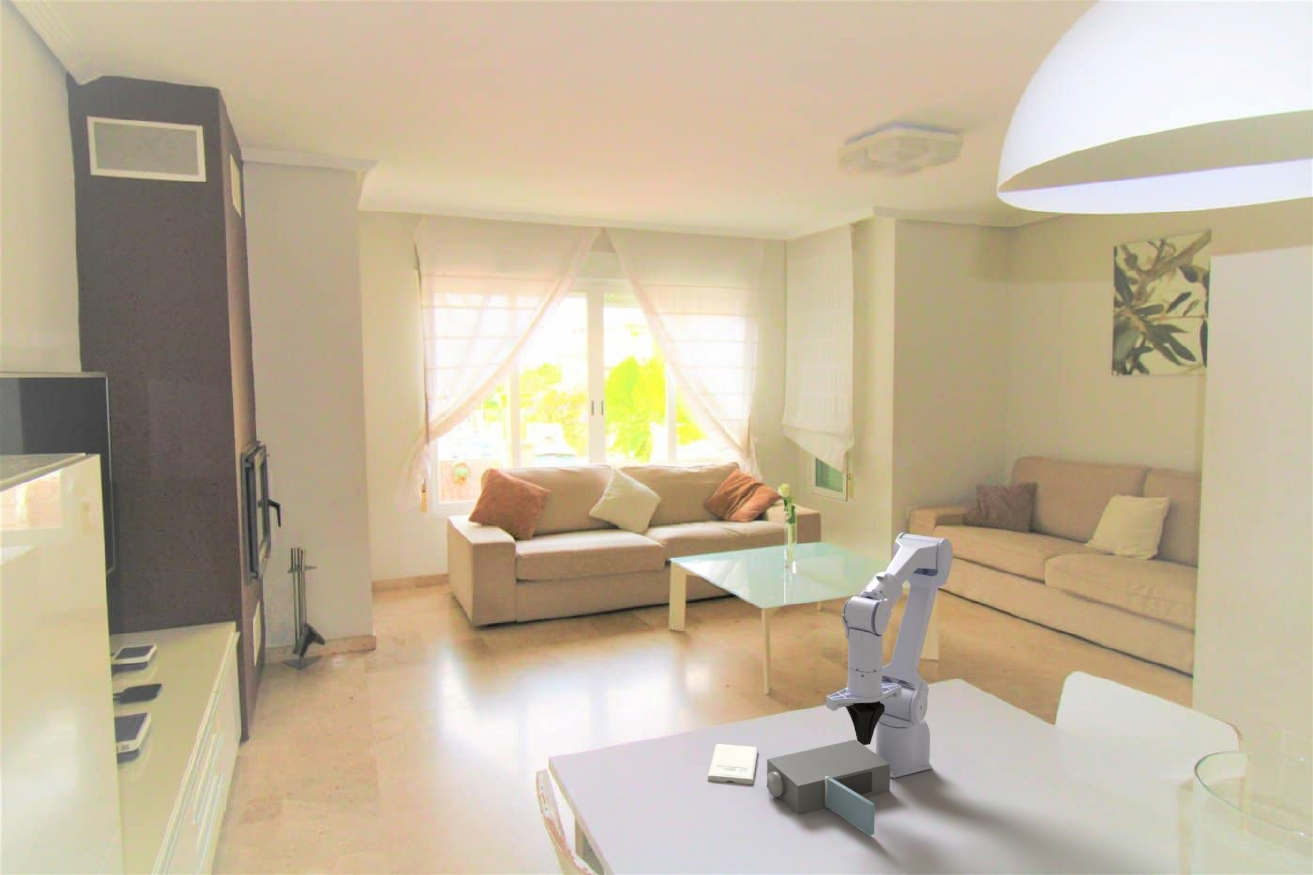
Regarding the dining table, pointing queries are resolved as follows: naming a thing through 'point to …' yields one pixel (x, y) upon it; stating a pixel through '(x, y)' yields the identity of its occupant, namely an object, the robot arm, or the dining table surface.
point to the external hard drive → (733, 764)
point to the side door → (849, 805)
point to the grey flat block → (826, 774)
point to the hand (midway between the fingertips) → (863, 742)
